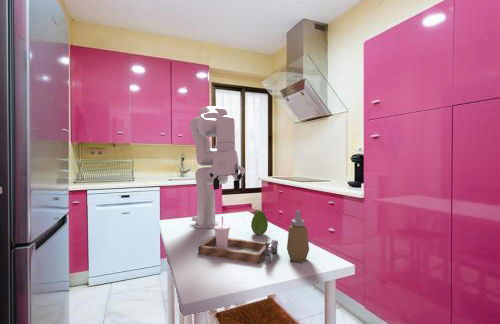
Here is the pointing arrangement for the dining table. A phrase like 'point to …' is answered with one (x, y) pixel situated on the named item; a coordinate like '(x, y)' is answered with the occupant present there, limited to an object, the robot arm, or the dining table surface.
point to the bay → (248, 253)
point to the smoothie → (222, 235)
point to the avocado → (259, 223)
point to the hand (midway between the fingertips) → (226, 189)
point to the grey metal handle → (270, 250)
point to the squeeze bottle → (298, 239)
